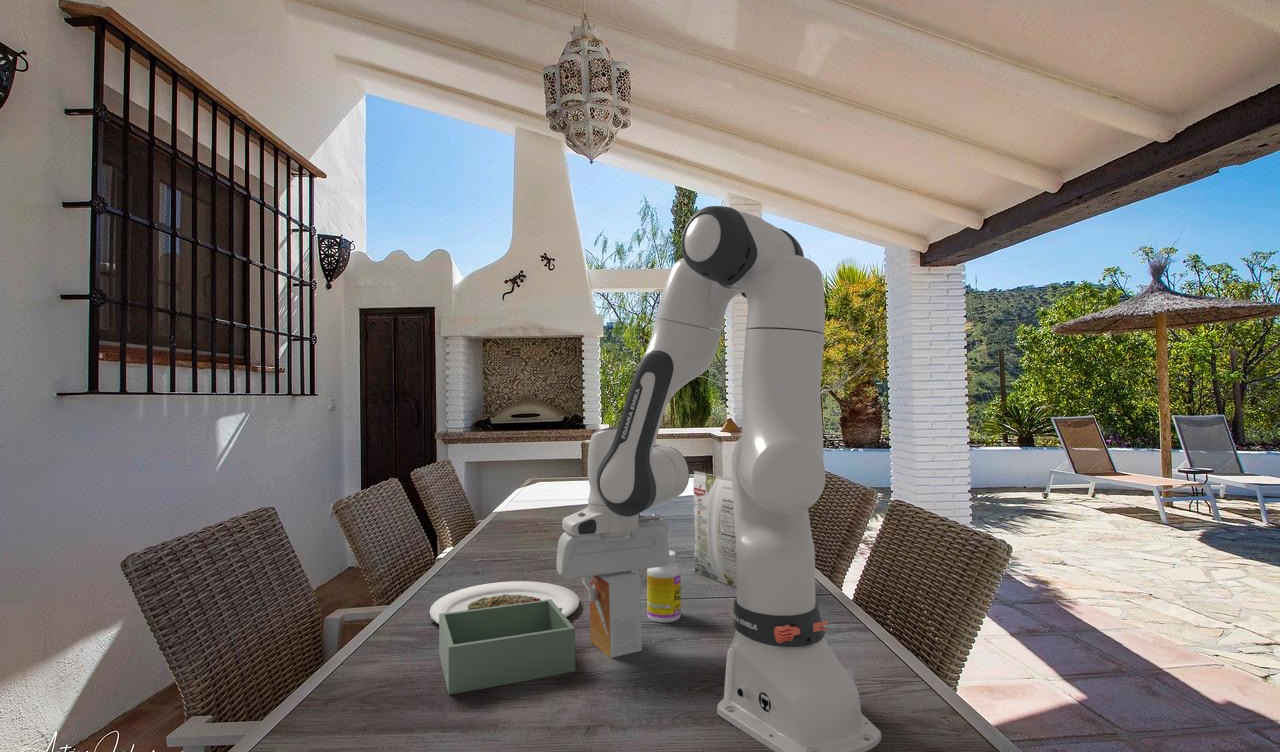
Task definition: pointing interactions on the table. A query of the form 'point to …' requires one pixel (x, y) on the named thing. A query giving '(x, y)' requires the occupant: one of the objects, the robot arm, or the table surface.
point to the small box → (616, 614)
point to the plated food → (504, 597)
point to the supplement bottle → (664, 592)
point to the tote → (504, 645)
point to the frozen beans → (714, 527)
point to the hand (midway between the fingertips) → (615, 597)
